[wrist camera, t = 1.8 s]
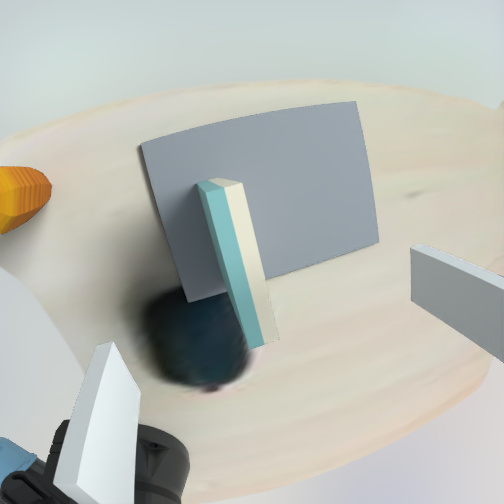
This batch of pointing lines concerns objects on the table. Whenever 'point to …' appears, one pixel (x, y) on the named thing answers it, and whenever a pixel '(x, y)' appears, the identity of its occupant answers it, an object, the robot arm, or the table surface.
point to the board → (239, 258)
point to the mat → (267, 189)
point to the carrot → (21, 195)
